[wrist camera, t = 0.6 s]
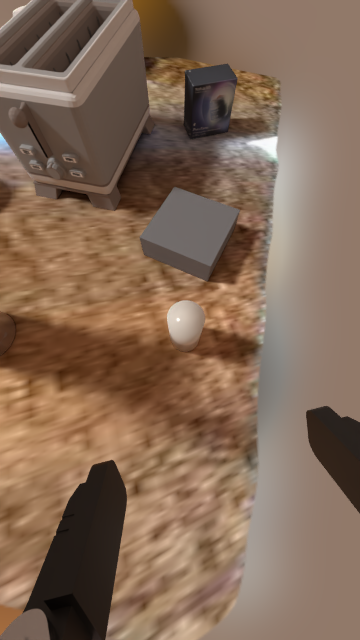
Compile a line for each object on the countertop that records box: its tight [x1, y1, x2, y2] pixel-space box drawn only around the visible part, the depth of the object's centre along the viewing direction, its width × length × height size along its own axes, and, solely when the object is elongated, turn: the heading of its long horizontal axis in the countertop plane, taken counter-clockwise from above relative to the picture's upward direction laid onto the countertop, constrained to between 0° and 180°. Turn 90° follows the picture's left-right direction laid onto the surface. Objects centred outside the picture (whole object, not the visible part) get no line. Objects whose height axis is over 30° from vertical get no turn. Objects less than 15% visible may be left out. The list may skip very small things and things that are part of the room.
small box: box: [184, 64, 237, 139], centre depth 53 cm, size 11×6×10 cm, turn 107°
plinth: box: [140, 187, 240, 281], centre depth 43 cm, size 14×14×5 cm
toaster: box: [0, 0, 155, 211], centre depth 44 cm, size 19×34×20 cm, turn 166°
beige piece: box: [167, 300, 205, 352], centre depth 33 cm, size 5×5×10 cm
